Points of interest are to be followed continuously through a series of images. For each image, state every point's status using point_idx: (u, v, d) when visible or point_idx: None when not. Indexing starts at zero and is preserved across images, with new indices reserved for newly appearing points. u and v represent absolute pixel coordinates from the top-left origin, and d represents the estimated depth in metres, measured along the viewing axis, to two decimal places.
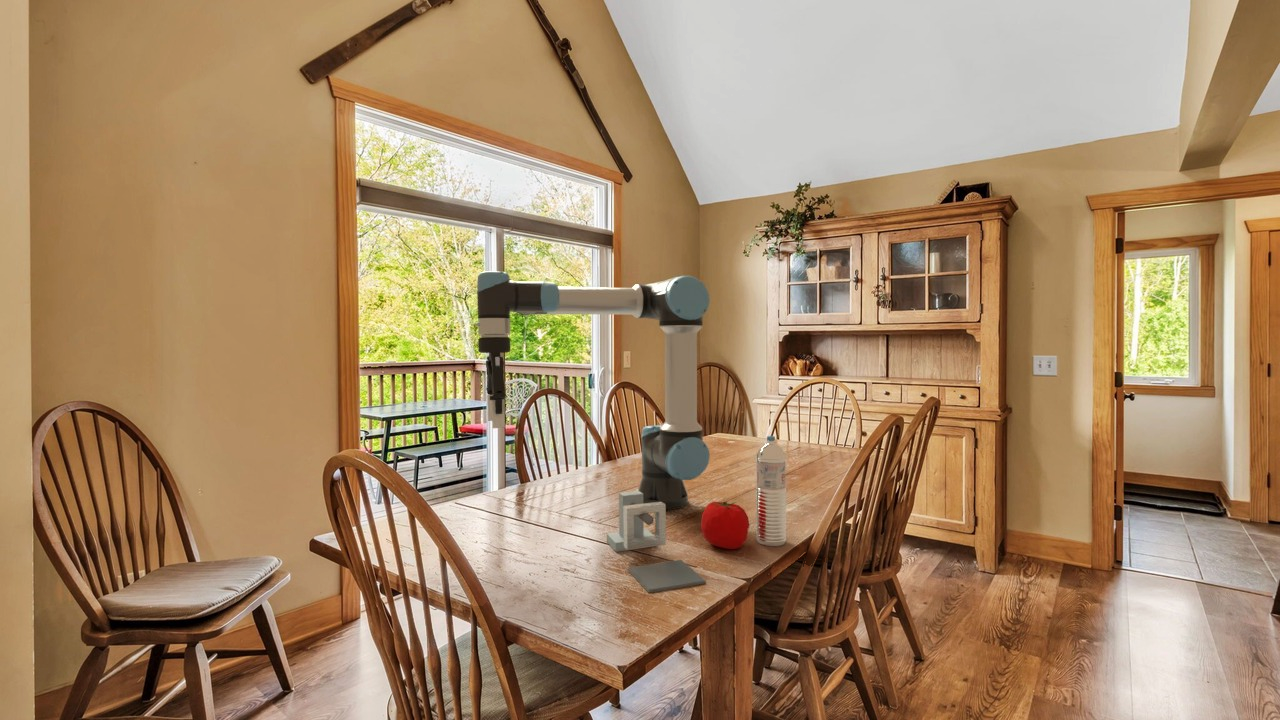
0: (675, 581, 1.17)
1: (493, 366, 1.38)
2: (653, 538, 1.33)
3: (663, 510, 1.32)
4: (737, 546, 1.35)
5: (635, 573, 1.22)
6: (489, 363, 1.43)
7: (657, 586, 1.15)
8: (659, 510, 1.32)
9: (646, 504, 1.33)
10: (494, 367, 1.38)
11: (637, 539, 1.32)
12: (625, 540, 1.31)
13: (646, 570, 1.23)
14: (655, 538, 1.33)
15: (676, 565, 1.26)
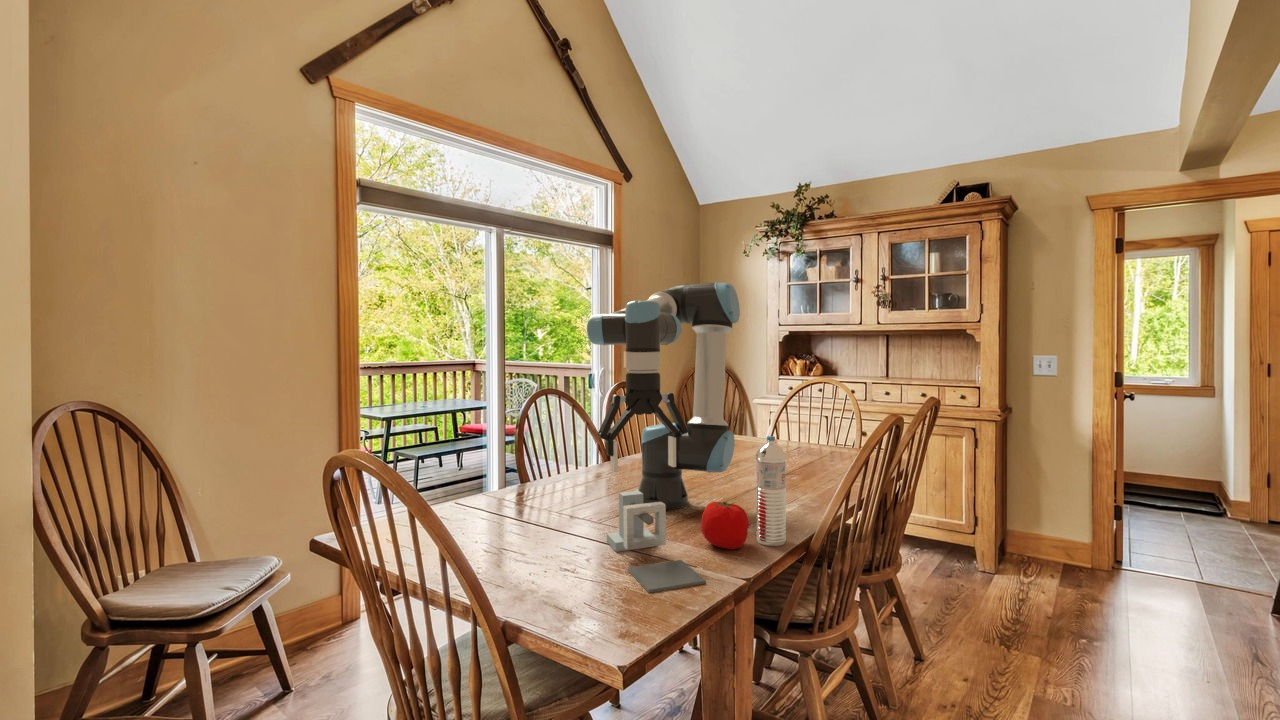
0: (675, 581, 1.17)
1: (611, 404, 1.30)
2: (653, 538, 1.33)
3: (663, 510, 1.32)
4: (737, 546, 1.35)
5: (635, 573, 1.22)
6: None
7: (657, 586, 1.15)
8: (659, 510, 1.32)
9: (646, 504, 1.33)
10: (611, 405, 1.30)
11: (637, 539, 1.32)
12: (625, 540, 1.31)
13: (646, 570, 1.23)
14: (655, 538, 1.33)
15: (676, 565, 1.26)
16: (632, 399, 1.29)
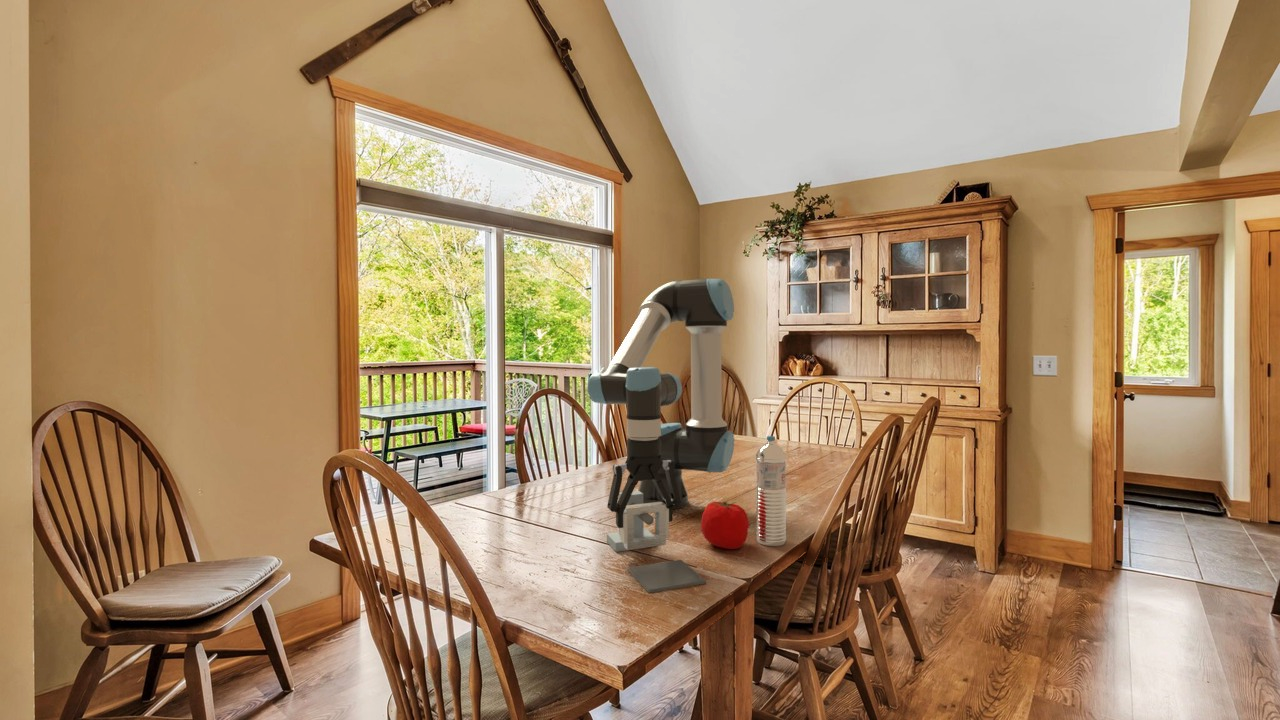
0: (675, 581, 1.17)
1: (614, 474, 1.31)
2: (653, 538, 1.33)
3: (663, 510, 1.32)
4: (737, 546, 1.35)
5: (635, 573, 1.22)
6: None
7: (657, 586, 1.15)
8: (659, 510, 1.32)
9: (646, 504, 1.33)
10: (614, 476, 1.30)
11: (637, 539, 1.32)
12: None
13: (646, 570, 1.23)
14: (655, 538, 1.33)
15: (676, 565, 1.26)
16: (633, 465, 1.30)
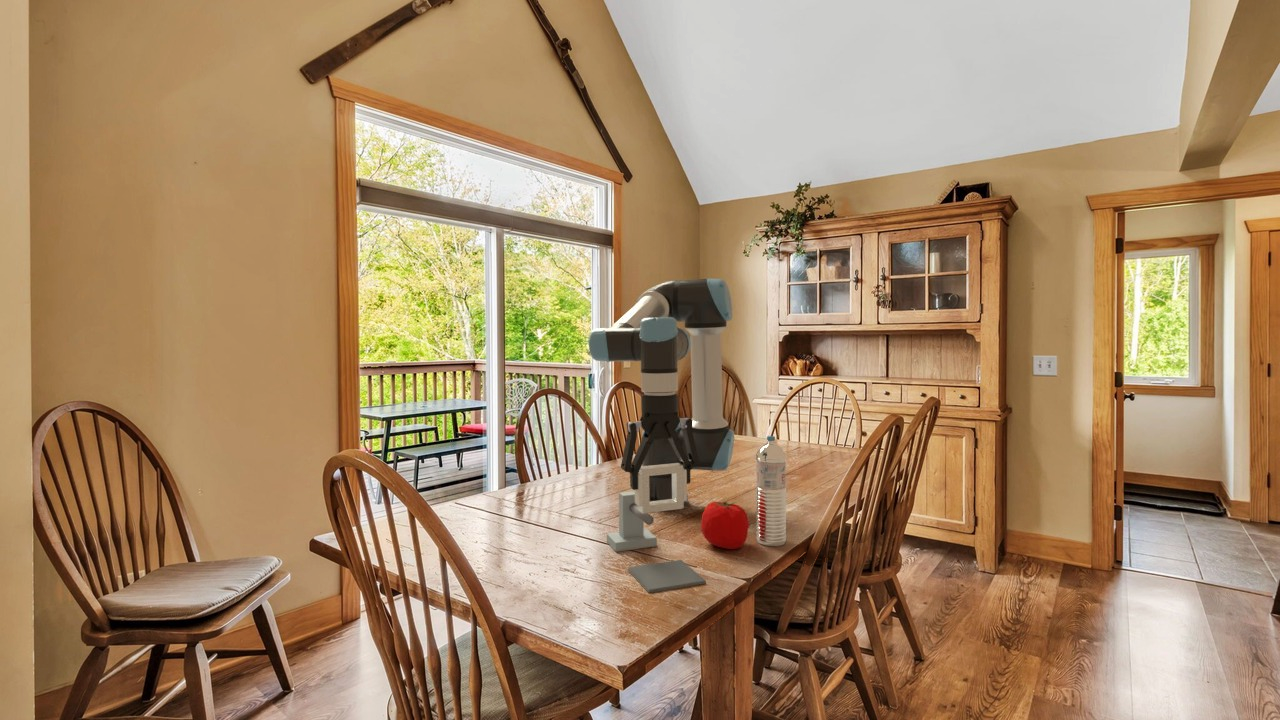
0: (675, 581, 1.17)
1: None
2: (670, 501, 1.24)
3: (680, 471, 1.23)
4: (737, 546, 1.35)
5: (635, 573, 1.22)
6: None
7: (657, 586, 1.15)
8: (676, 471, 1.23)
9: (662, 465, 1.24)
10: (628, 434, 1.21)
11: (653, 502, 1.23)
12: None
13: (646, 570, 1.23)
14: (672, 501, 1.24)
15: (676, 565, 1.26)
16: (648, 423, 1.21)
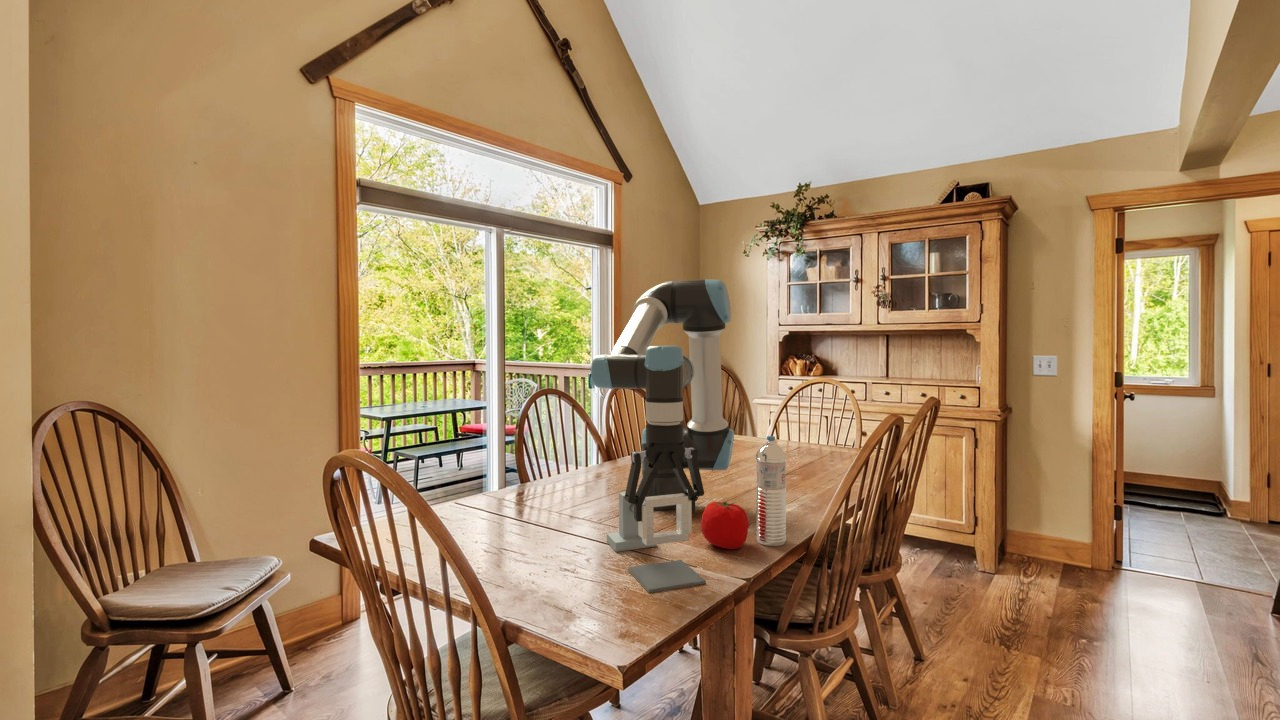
0: (675, 581, 1.17)
1: (632, 463, 1.19)
2: (674, 533, 1.21)
3: (685, 502, 1.21)
4: (737, 546, 1.35)
5: (635, 573, 1.22)
6: None
7: (657, 586, 1.15)
8: (681, 502, 1.21)
9: (667, 496, 1.21)
10: (632, 464, 1.19)
11: (657, 534, 1.20)
12: None
13: (646, 570, 1.23)
14: (677, 532, 1.21)
15: (676, 565, 1.26)
16: (653, 453, 1.18)
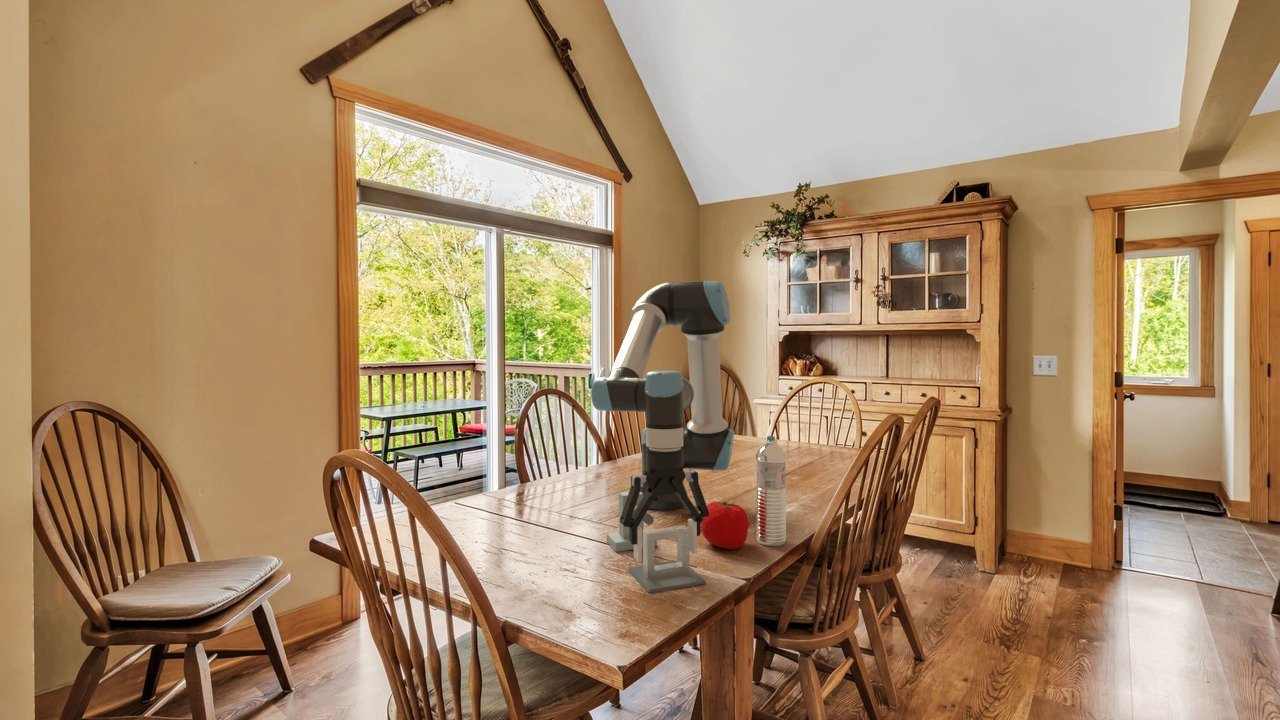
0: (675, 581, 1.17)
1: (631, 486, 1.19)
2: (675, 565, 1.21)
3: (686, 535, 1.21)
4: (737, 546, 1.35)
5: (635, 573, 1.22)
6: None
7: (657, 586, 1.15)
8: (682, 535, 1.21)
9: (668, 529, 1.21)
10: (631, 488, 1.19)
11: (658, 567, 1.21)
12: (645, 568, 1.20)
13: None
14: (678, 565, 1.22)
15: None
16: (653, 479, 1.19)
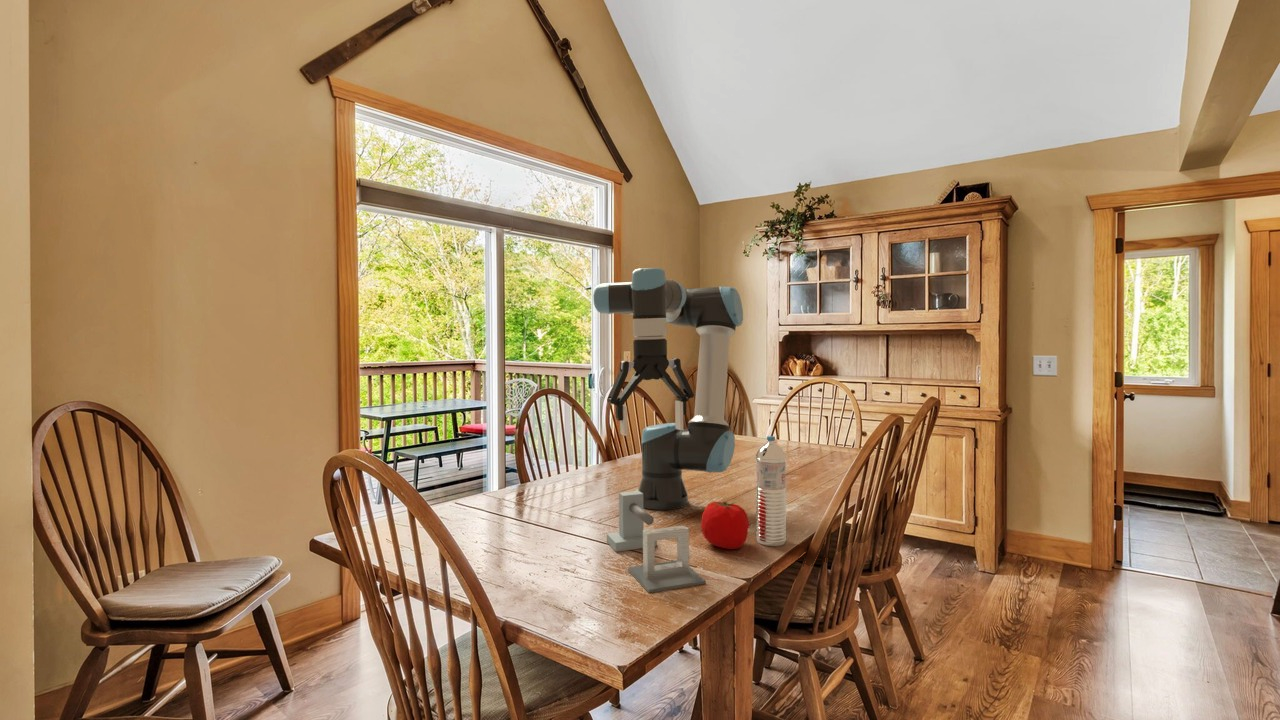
0: (675, 581, 1.17)
1: None
2: (675, 565, 1.21)
3: (686, 535, 1.21)
4: (737, 546, 1.35)
5: (635, 573, 1.22)
6: None
7: (657, 586, 1.15)
8: (682, 535, 1.21)
9: (668, 529, 1.21)
10: (619, 371, 1.33)
11: (658, 567, 1.21)
12: (645, 568, 1.20)
13: None
14: (678, 565, 1.22)
15: None
16: (640, 365, 1.33)
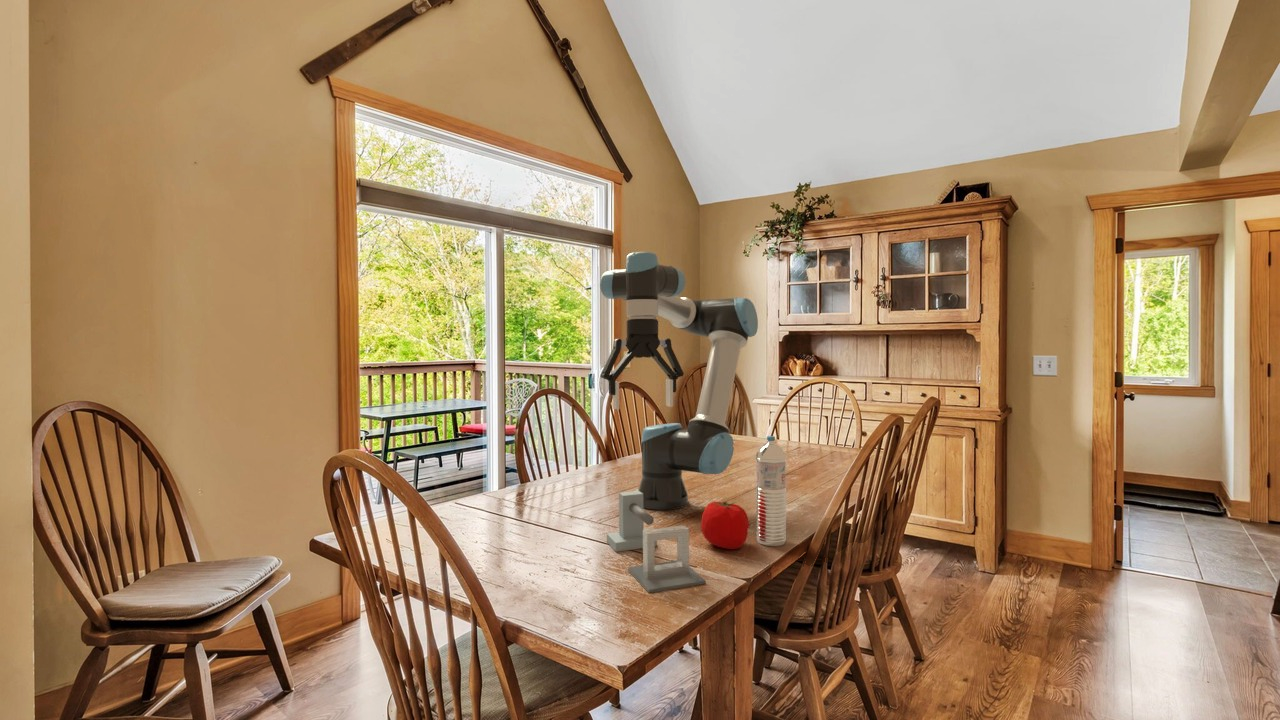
0: (675, 581, 1.17)
1: (613, 348, 1.41)
2: (675, 565, 1.21)
3: (686, 535, 1.21)
4: (737, 546, 1.35)
5: (635, 573, 1.22)
6: None
7: (657, 586, 1.15)
8: (682, 535, 1.21)
9: (668, 529, 1.21)
10: (613, 349, 1.41)
11: (658, 567, 1.21)
12: (645, 568, 1.20)
13: None
14: (678, 565, 1.22)
15: None
16: (632, 343, 1.41)
